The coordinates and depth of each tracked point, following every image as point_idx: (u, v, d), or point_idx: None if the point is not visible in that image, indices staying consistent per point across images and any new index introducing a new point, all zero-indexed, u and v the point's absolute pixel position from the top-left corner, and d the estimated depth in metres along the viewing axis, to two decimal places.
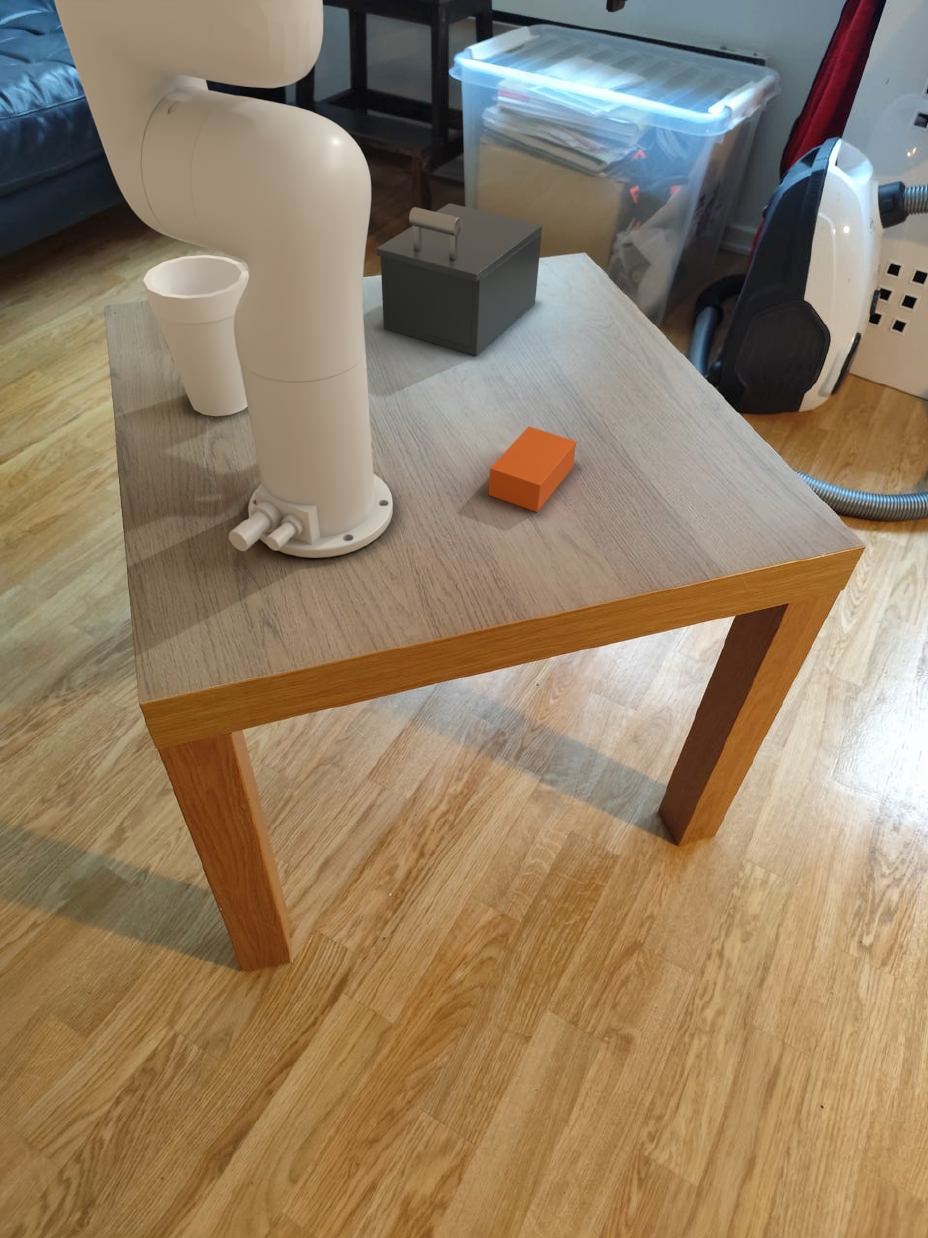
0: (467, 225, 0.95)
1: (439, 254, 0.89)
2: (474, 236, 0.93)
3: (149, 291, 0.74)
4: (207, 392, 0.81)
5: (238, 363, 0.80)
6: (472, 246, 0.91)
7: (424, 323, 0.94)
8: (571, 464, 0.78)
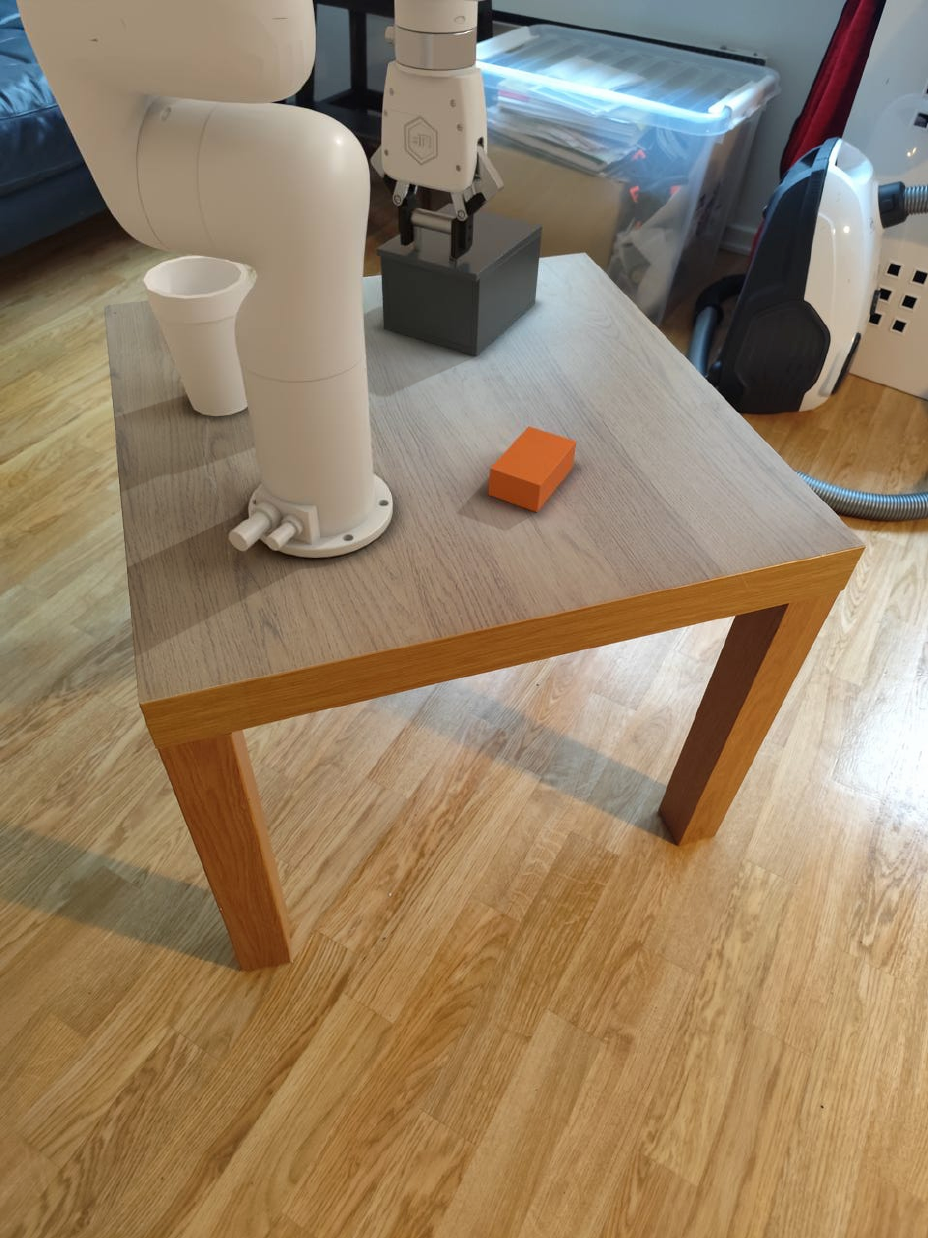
0: None
1: (439, 254, 0.89)
2: (474, 236, 0.93)
3: (149, 291, 0.74)
4: (207, 392, 0.81)
5: (238, 363, 0.80)
6: (472, 246, 0.91)
7: (424, 323, 0.94)
8: (571, 464, 0.78)
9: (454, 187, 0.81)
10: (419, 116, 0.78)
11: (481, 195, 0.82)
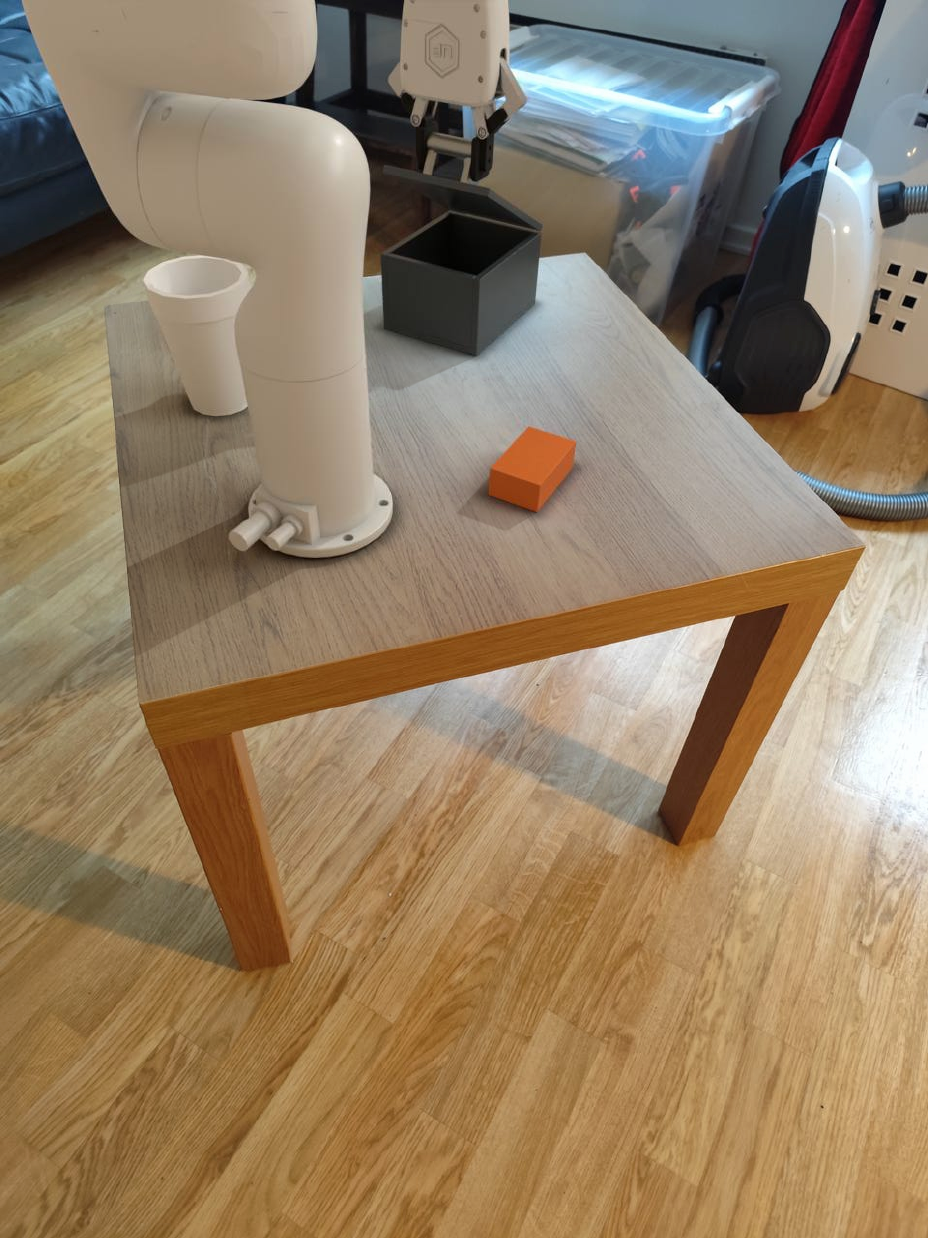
0: None
1: None
2: None
3: (149, 291, 0.74)
4: (207, 392, 0.81)
5: (238, 363, 0.80)
6: None
7: (424, 323, 0.94)
8: (571, 464, 0.78)
9: (476, 100, 0.78)
10: (440, 24, 0.76)
11: (503, 111, 0.80)
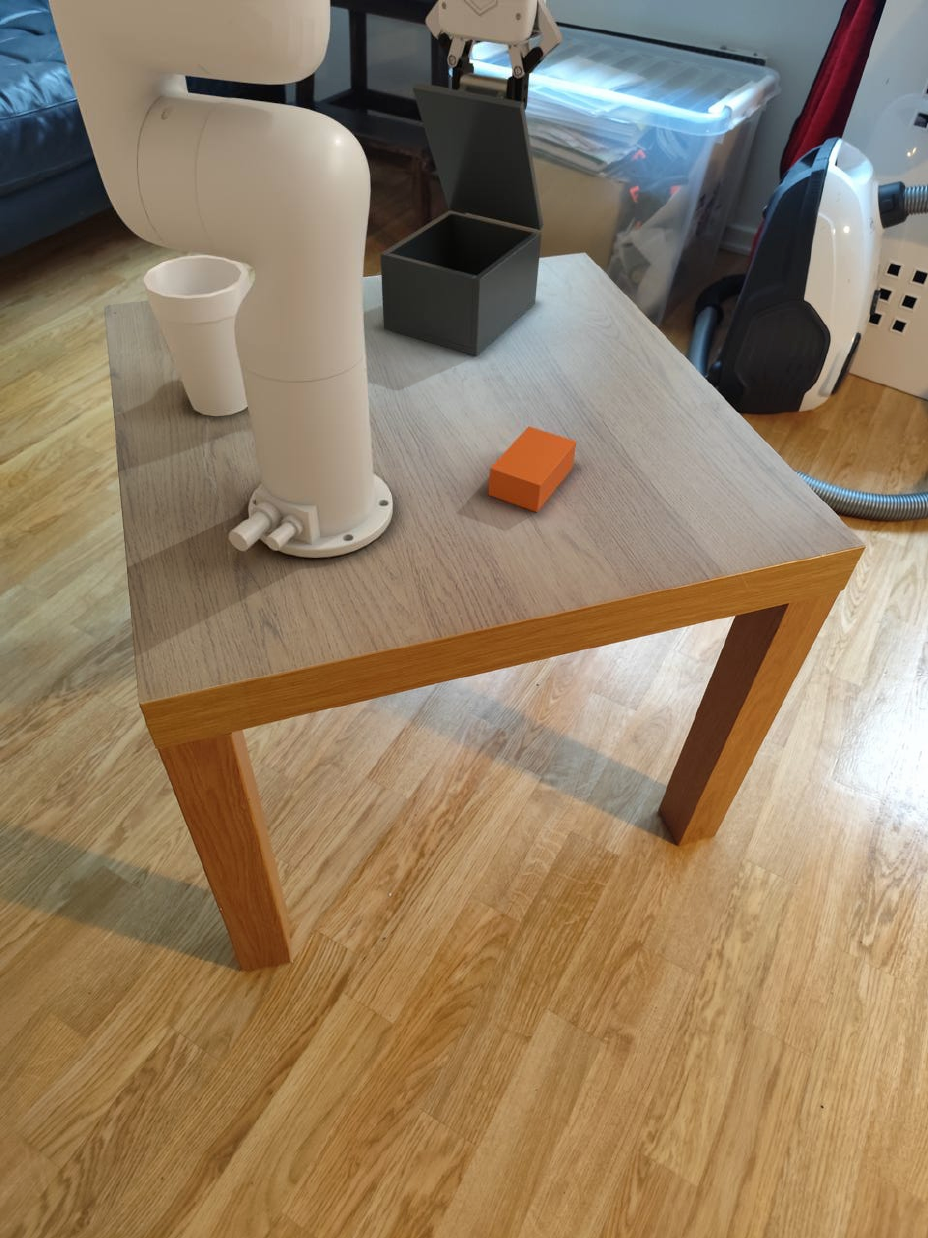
0: None
1: None
2: None
3: (149, 291, 0.74)
4: (207, 392, 0.81)
5: (238, 363, 0.80)
6: None
7: (424, 323, 0.94)
8: (571, 464, 0.78)
9: (513, 38, 0.80)
10: None
11: (539, 49, 0.82)
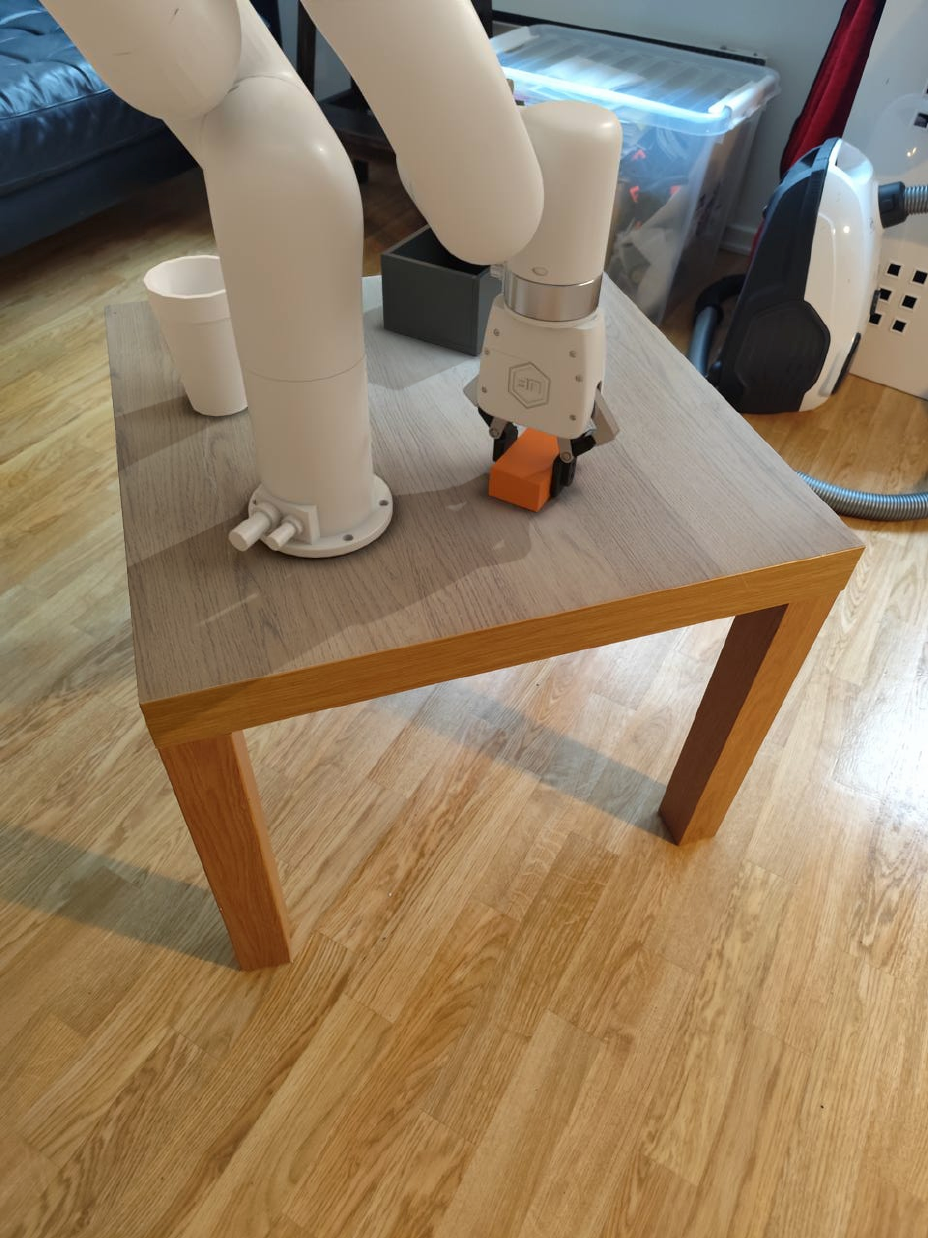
0: None
1: None
2: None
3: (149, 291, 0.74)
4: (207, 392, 0.81)
5: (238, 363, 0.80)
6: None
7: (424, 323, 0.94)
8: None
9: (566, 435, 0.69)
10: (529, 361, 0.66)
11: (592, 439, 0.70)
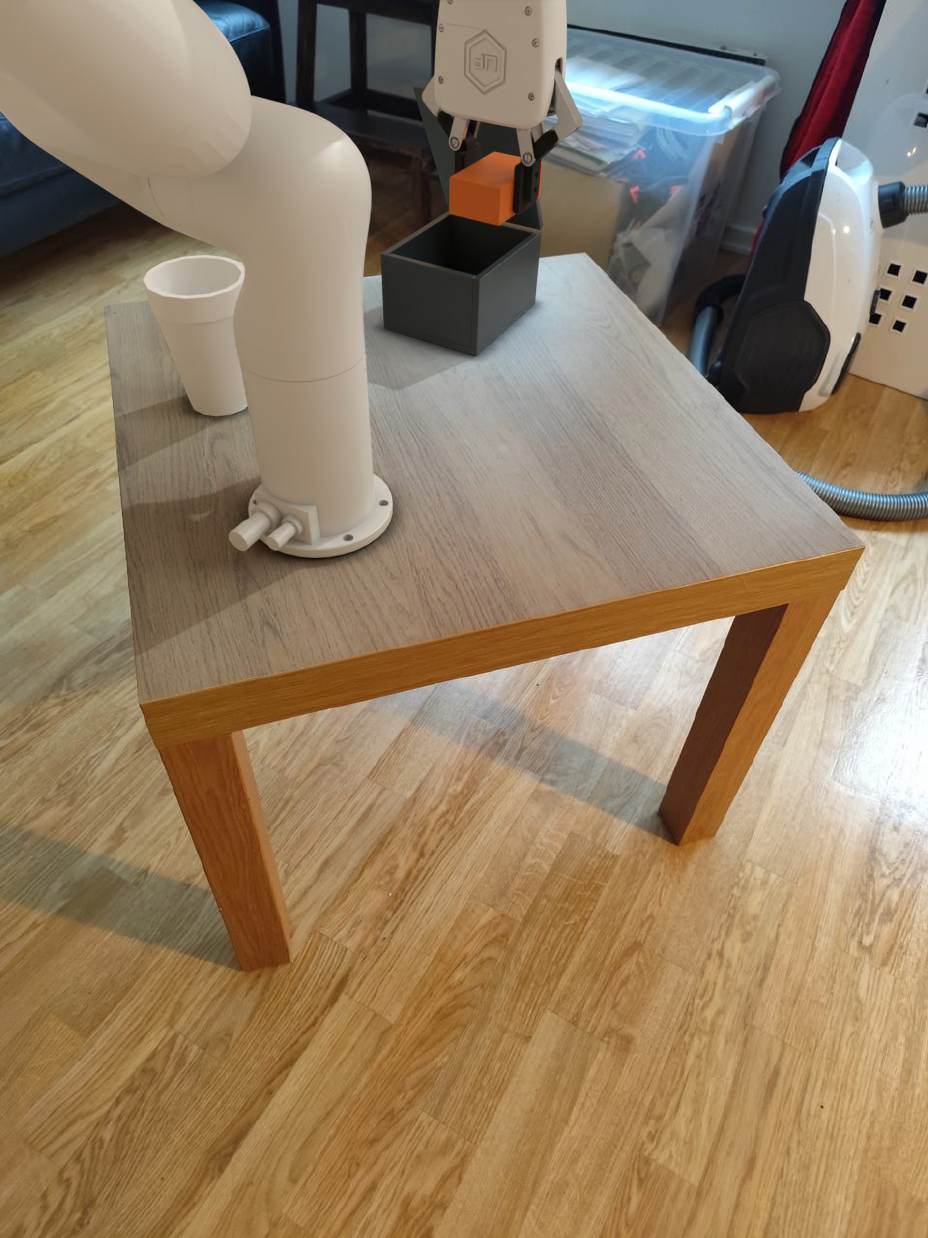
0: None
1: None
2: None
3: (149, 291, 0.74)
4: (207, 392, 0.81)
5: (238, 363, 0.80)
6: None
7: (424, 323, 0.94)
8: None
9: (524, 121, 0.65)
10: (484, 30, 0.63)
11: (553, 133, 0.67)
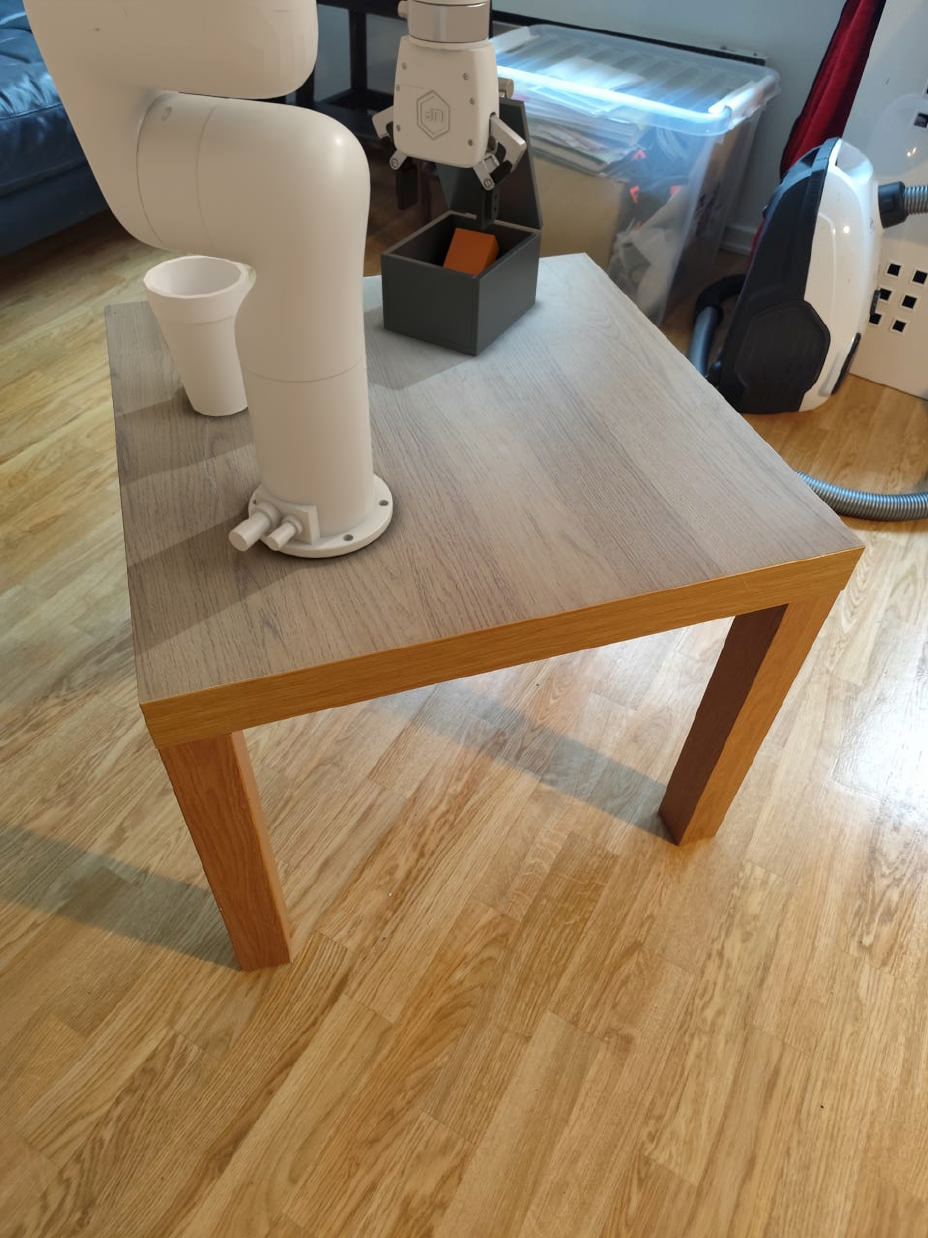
0: None
1: None
2: None
3: (149, 291, 0.74)
4: (207, 392, 0.81)
5: (238, 363, 0.80)
6: None
7: (424, 323, 0.94)
8: None
9: (466, 162, 0.81)
10: (431, 90, 0.78)
11: (508, 163, 0.81)
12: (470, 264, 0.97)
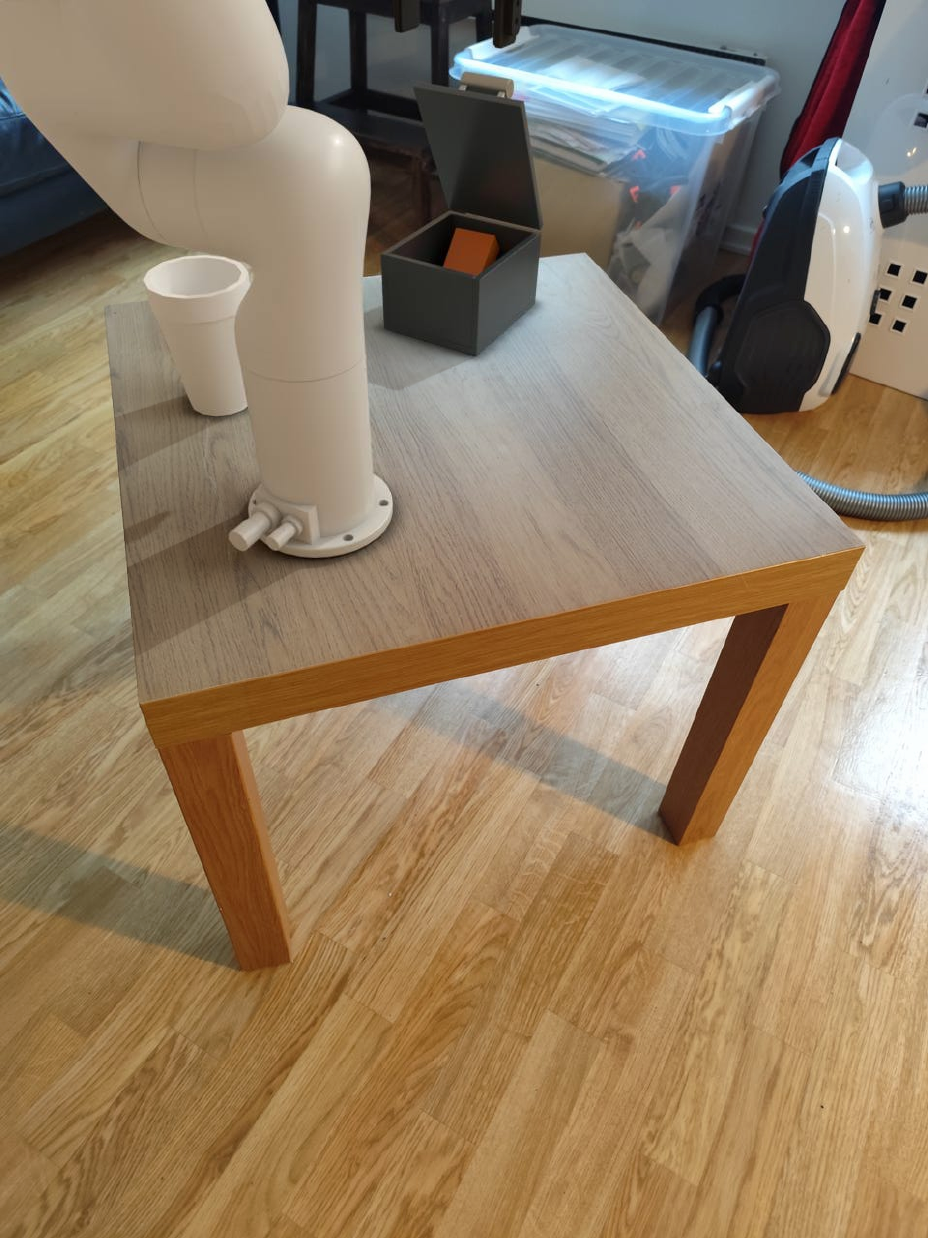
0: None
1: None
2: None
3: (149, 291, 0.74)
4: (207, 392, 0.81)
5: (238, 363, 0.80)
6: None
7: (424, 323, 0.94)
8: None
9: None
10: None
11: None
12: (470, 264, 0.97)
